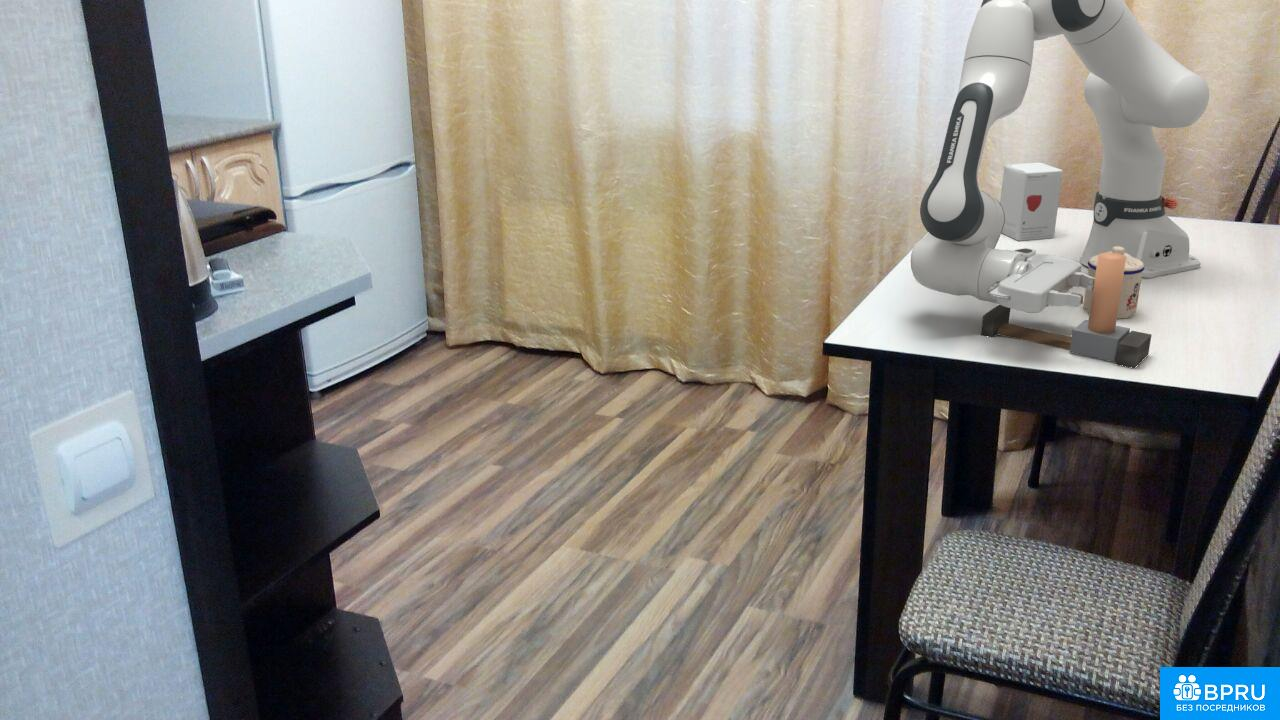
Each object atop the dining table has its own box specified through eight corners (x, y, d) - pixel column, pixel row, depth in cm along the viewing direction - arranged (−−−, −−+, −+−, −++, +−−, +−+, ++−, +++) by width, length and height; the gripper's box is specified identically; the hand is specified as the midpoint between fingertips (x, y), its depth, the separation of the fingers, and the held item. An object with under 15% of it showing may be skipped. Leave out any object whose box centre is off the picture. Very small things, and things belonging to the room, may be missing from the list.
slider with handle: (1069, 352, 175) (1082, 257, 169) (1082, 341, 180) (1095, 248, 174) (1114, 361, 171) (1129, 264, 165) (1126, 350, 175) (1141, 255, 170)
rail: (980, 335, 184) (982, 315, 182) (997, 323, 189) (999, 304, 187) (1134, 368, 169) (1138, 347, 168) (1148, 355, 174) (1151, 334, 173)
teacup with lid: (1137, 322, 188) (1148, 257, 183) (1080, 316, 191) (1089, 252, 187) (1136, 300, 198) (1146, 238, 194) (1082, 295, 201) (1091, 234, 197)
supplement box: (1017, 241, 235) (1025, 172, 229) (995, 231, 243) (1002, 164, 237) (1055, 238, 237) (1064, 169, 231) (1032, 228, 245) (1040, 161, 239)
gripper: (982, 275, 173) (1071, 291, 164) (1030, 245, 187) (1113, 258, 179) (978, 312, 175) (1066, 330, 167) (1026, 280, 190) (1108, 295, 182)
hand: (1091, 293), depth 173 cm, fingers open, 8 cm apart
